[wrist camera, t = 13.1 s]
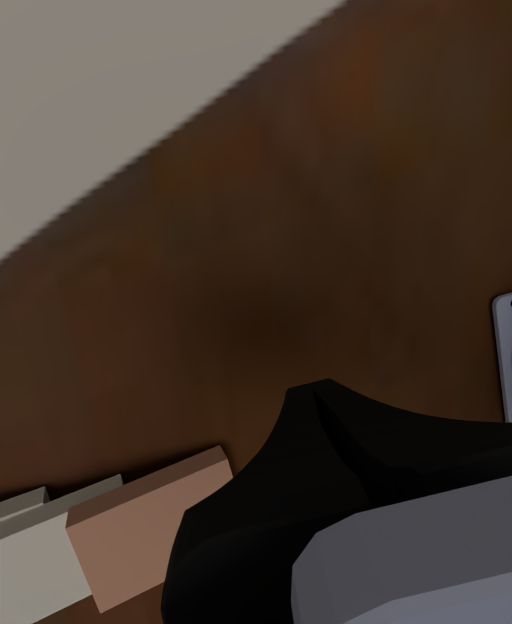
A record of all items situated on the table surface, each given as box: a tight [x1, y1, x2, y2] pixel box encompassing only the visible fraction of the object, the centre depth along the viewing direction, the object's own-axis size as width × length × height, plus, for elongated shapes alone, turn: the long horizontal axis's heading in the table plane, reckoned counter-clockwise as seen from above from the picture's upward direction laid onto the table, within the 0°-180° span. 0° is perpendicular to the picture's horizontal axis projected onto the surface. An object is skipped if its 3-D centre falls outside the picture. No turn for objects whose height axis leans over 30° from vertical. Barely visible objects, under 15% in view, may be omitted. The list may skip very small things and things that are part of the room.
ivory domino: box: [0, 474, 124, 624], centre depth 21 cm, size 2×5×8 cm
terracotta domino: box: [65, 445, 233, 613], centre depth 21 cm, size 2×5×8 cm
